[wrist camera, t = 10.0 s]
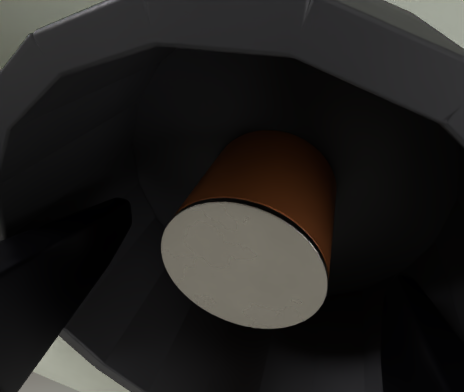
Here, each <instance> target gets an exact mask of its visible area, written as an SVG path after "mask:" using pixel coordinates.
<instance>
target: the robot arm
mask: <svg viewBox="0 0 464 392" xmlns="http://www.w3.org/2000/svg"><path fill="white" fill-rule="evenodd" d="M131 225H132V213H131V205H130V202H129V201H128V200H126V199H123V198H119V197H116V198H113V199H110V200H107V201H105V202H102V203H99V204H97V205H94V206H92V207H89V208H86V209H84V210H81V211H78V212H76V213H73V214H70V215H68V216H65V217H63V218H60V219H57V220H55V221H52V222H49V223H47V224H44V225H41V226H39V227H36V228H33V229H31V230H28V231H25V232H23V233H20V234H18V235H15V236H12V237H10V238H7V239H4V240H2V241H0V392H18V391H19V389H20V388H21V387H22V385H23V384H24V382H25V381H26V380H27V378H28V377H29V375H30V374H31V373H32V371H33V370H34V369H35V367H36V366H37V364H38V363H39V362H40V360H41V359H42V357H43V356H44V355H45V353H46V352H47V351H48V349H49V348H50V346H51V345H52V344H53V342H54V341H55V339H56V338H57V337H58V335H59V334H60V333H61V331H62V330H63V328H64V327H65V326H66V324H67V323H68V321H69V320H70V319H71V317H72V316H73V314H74V313H75V312H76V310H77V309H78V308H79V306H80V305H81V303H82V302H83V301H84V299H85V298H86V296H87V295H88V294H89V292H90V291H91V290H92V288H93V287H94V285H95V284H96V283H97V281H98V280H99V278H100V277H101V276H102V274H103V273H104V272H105V270H106V269H107V267H108V266H109V264H110V262H111V261H112V259H113V257H114V256H115V254H116V252H117V250H118V249H119V247H120V245H121V243H122V241H123V240H124V238H125V236H126V234H127V233H128V231H129V229H130V227H131ZM381 371H382V385H383V392H464V343H463V342H462V340H461V339H460V338H459V336H458V335H457V334H456V333H455V331H454V330H453V329H452V327H451V326H450V325H449V323H448V322H447V321H446V319H445V318H444V317H443V316H442V314H441V313H440V312H439V310H438V309H437V308H436V306H435V305H434V304H433V302H432V301H431V300H430V298H429V297H428V296H427V295H426V293H425V292H424V291H423V289H422V288H421V287H420V285H419V284H418V283H417V281H416V280H415V279H414V278H412V277H409V276H406V275H402V274H397V275H395V276H394V278H393V280H392V281H391V283H390V285H389V287H388V288H387V290H386V292H385V294H384V298H383V313H382V331H381Z"/></svg>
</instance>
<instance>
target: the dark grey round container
mask: <svg viewBox="0 0 464 392" xmlns="http://www.w3.org/2000/svg"><path fill="white" fill-rule="evenodd" d="M260 130H276V131H282V132H287V133H290V134H293V135H296V136H298V137H300V138H302V139H304V140H306V141H307V142H309V143H310V144H312V145H313V146H314V147H315V148H316V149H317V150H319V151H320V152H321V154H322V155H323V156H324V157H325V158H326V160H327V161H328V163H329V164H330V166H331V169H332V171H333V173H334V177H335V181H336V201H335V213H334V224H333V236H332V247H331V259H330V270H329V282H328V290H327V295H326V298H325V300H324V302H323V304H322V306H321V307H320V308H319V310H318V311H317V312H316V313H315V314H314V315H313V316H311V317H310V318H308V319H307V320H305V321H303V322H301V323H299V324H296V325H293V326H290V327H284V328H276V329H261V328H252V327H247V326H242V325H238V324H235V323H232V322H229V321H226V320H224V319H221V318H219V317H217V316H215V315H213V314H211V313H209V312H207V311H206V310H204V309H202V308H201V307H199V306H198V305H197V304H195V303H194V302H193V301H191V300H190V299H189V298H188V297H187V296H186V295H185V294H184V293H183V292H182V291H181V290H180V289H179V288H178V287H177V286H176V284H175V283H174V282H173V280H172V279H171V277H170V276H169V274H168V272H167V270H166V268H165V265H164V262H163V259H162V254H161V240H162V235H163V232H164V229H165V228H166V226H167V224H168V223H169V221H170V220H171V219H172V217H173V216H174V215H175V213H176V212H177V211H178V209H179V208H180V207H181V205H182V204H183V203H184V201H185V200H186V199H187V197H188V196H189V195H190V193H191V192H192V191H193V189H194V188H195V187H196V185H197V184H198V183H199V181H200V180H201V179H202V177H203V176H204V175H205V173H206V172H207V170H208V169H209V168H210V166H211V165H212V164H213V162H214V161H215V160H216V158H217V157H218V156H219V154H220V153H221V152H222V151H223V149H224V148H225V147H226V146H227V145H228V144H229V143H230V142H232V141H233V140H234V139H236V138H238V137H240V136H242V135H244V134H247V133H250V132H253V131H260ZM116 197H119V198H123V199H126V200H128V201H129V202H130V205H131V213H132V225H131V227H130V229H129V231H128V233H127V234H126V236H125V238H124V240H123V241H122V243H121V245H120V247H119V249H118V250H117V252H116V254H115V256H114V257H113V259H112V261H111V262H110V264H109V266H108V267H107V269H106V270H105V272H104V273H103V274H102V276H101V277H100V278H99V280H98V281H97V283H96V284H95V285H94V287H93V288H92V290H91V291H90V292H89V294H88V295H87V296H86V298H85V299H84V301H83V302H82V303H81V305H80V306H79V308H78V309H77V310H76V312H75V313H74V314H73V316H72V317H71V319H70V320H69V321H68V323H67V324H66V326H65V327H64V328H63V330H62V331H61V333H60V334H59V336H60V337H61V338H62V339H63V340H64V341H66V342H67V343H68V344H69V345H70V346H71V347H72V348H74V349H75V350H76V351H77V352H78V353H79V354H80V355H82V356H83V357H84V358H85V359H86V360H87V361H88V362H90V363H91V364H92V365H93V366H95V368H96V369H98V370H99V371H101V372H102V373H104V374H105V375H107V376H108V377H110V378H111V379H113V380H114V381H116V382H117V383H119V384H120V385H122V386H123V387H125V388H126V389H128V390H129V391H130V392H383V385H382V371H381V331H382V313H383V298H384V294H385V292H386V290H387V288H388V287H389V285H390V283H391V281H392V280H393V278H394V276H395V275H397V274H402V275H406V276H409V277H412V278H414V279H415V280H416V281H417V283H418V284H419V285H420V287H421V288H422V289H423V291H424V292H425V293H426V295H427V296H428V297H429V298H430V300H431V301H432V302H433V304H434V305H435V306H436V308H437V309H438V310H439V312H440V313H441V314H442V316H443V317H444V318H445V319H446V321H447V322H448V323H449V325H450V326H451V327H452V329H453V330H454V331H455V333H456V334H457V335H458V336H459V338H460V339H461V340H462V342H463V343H464V49H463V48H462V47H460V46H459V45H457V44H456V43H455V42H453V41H452V40H450V39H449V38H447V37H446V36H445V35H443V34H442V33H440V32H439V31H437V30H436V29H434V28H433V27H432V26H430V25H429V24H427V23H426V22H424V21H423V20H422V19H420V18H419V17H417V16H416V15H414V14H413V13H411V12H409V11H407V10H405V9H402V8H400V7H398V6H395V5H393V4H391V3H388V2H386V1H384V0H105V1H103V2H101V3H98V4H96V5H93V6H91V7H89V8H86V9H84V10H82V11H79V12H77V13H74V14H72V15H70V16H67V17H65V18H63V19H60V20H58V21H56V22H53V23H51V24H48V25H46V26H44V27H41V28H39V29H37V30H36V31H35V32H34V33H30V34H29V35H28V36H27V37H26V38H25V40H24V41H23V42H22V44H21V45H20V46H19V48H18V49H17V50H16V52H15V53H14V54H13V56H12V57H11V58H10V60H9V61H8V62H7V63H6V65H5V66H4V67H3V69H2V70H1V71H0V241H2V240H4V239H7V238H10V237H12V236H15V235H18V234H20V233H23V232H25V231H28V230H31V229H33V228H36V227H39V226H41V225H44V224H47V223H49V222H52V221H55V220H57V219H60V218H63V217H65V216H68V215H70V214H73V213H76V212H78V211H81V210H84V209H86V208H89V207H92V206H94V205H97V204H99V203H102V202H105V201H107V200H110V199H113V198H116Z"/></svg>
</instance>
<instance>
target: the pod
mask: <svg viewBox="0 0 464 392" xmlns="http://www.w3.org/2000/svg"><path fill="white" fill-rule="evenodd" d="M335 201H336V181H335V177H334V173H333V171H332V169H331V166H330V164H329V163H328V161H327V160H326V158H325V157H324V156H323V155H322V154H321V152H320V151H319V150H317V149H316V148H315V147H314V146H313V145H312V144H310V143H309V142H307V141H306V140H304V139H302V138H300V137H298V136H296V135H293V134H290V133H287V132H282V131H276V130H260V131H253V132H250V133H247V134H244V135H242V136H240V137H238V138H236V139H234V140H233V141H232V142H230V143H229V144H228V145H227V146H226V147H225V148H224V149H223V151H222V152H221V153H220V154H219V156H218V157H217V158H216V160H215V161H214V162H213V164H212V165H211V166H210V168H209V169H208V170H207V172H206V173H205V175H204V176H203V177H202V179H201V180H200V181H199V183H198V184H197V185H196V187H195V188H194V189H193V191H192V192H191V193H190V195H189V196H188V197H187V199H186V200H185V201H184V203H183V204H182V205H181V207H180V208H179V209H178V211H177V212H176V213H175V215H174V216H173V217H172V219H171V220H170V221H169V223H168V224H167V226H166V228H165V229H164V232H163V235H162V240H161V254H162V259H163V262H164V265H165V268H166V270H167V272H168V274H169V276H170V277H171V279H172V280H173V282H174V283H175V284H176V286H177V287H178V288H179V289H180V290H181V291H182V292H183V293H184V294H185V295H186V296H187V297H188V298H189V299H190V300H191V301H193V302H194V303H195V304H197V305H198V306H199V307H201V308H202V309H204V310H206V311H207V312H209V313H211V314H213V315H215V316H217V317H219V318H221V319H224V320H226V321H229V322H232V323H235V324H238V325H242V326H247V327H252V328H261V329H276V328H284V327H290V326H293V325H296V324H299V323H301V322H303V321H305V320H307V319H308V318H310V317H311V316H313V315H314V314H315V313H316V312H317V311H318V310H319V308H320V307H321V306H322V304H323V302H324V300H325V298H326V295H327V290H328V282H329V270H330V259H331V247H332V236H333V224H334V213H335Z"/></svg>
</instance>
